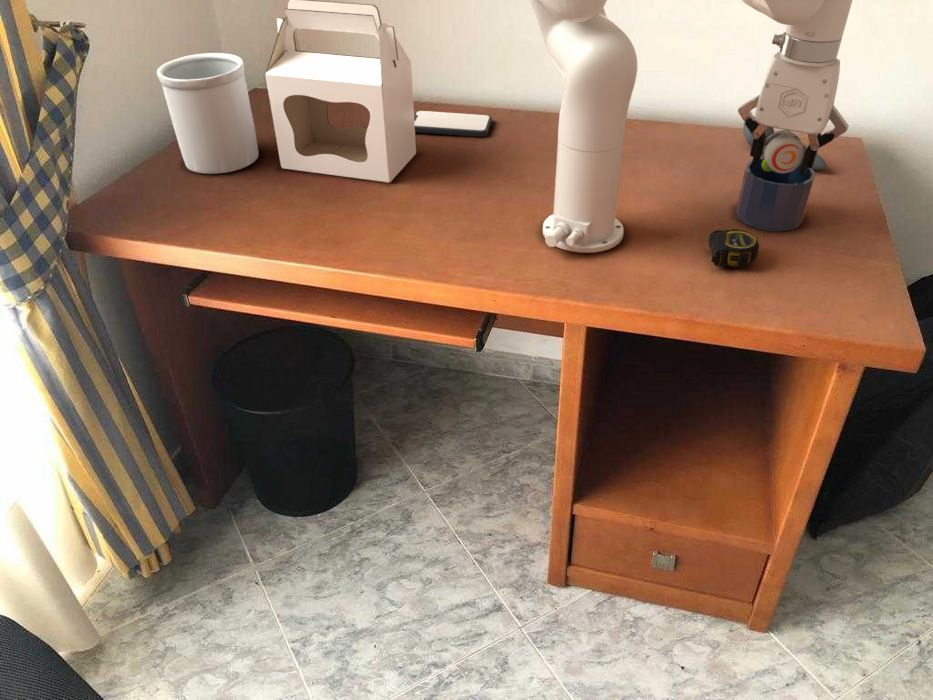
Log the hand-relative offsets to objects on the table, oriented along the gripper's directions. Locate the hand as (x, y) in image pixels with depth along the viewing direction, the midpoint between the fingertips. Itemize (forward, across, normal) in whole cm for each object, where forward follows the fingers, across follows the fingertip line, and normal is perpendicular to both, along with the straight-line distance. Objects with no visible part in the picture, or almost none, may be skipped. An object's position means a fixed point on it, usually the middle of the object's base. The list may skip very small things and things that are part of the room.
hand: (779, 165), depth 121 cm
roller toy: (+1, 0, 0) cm, 1 cm away
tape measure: (+9, -2, -17) cm, 19 cm away
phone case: (+9, -65, +7) cm, 66 cm away
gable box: (+10, -73, -16) cm, 75 cm away
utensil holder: (+10, -95, -27) cm, 99 cm away
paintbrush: (+9, -4, +25) cm, 27 cm away
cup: (+9, 0, 0) cm, 9 cm away
